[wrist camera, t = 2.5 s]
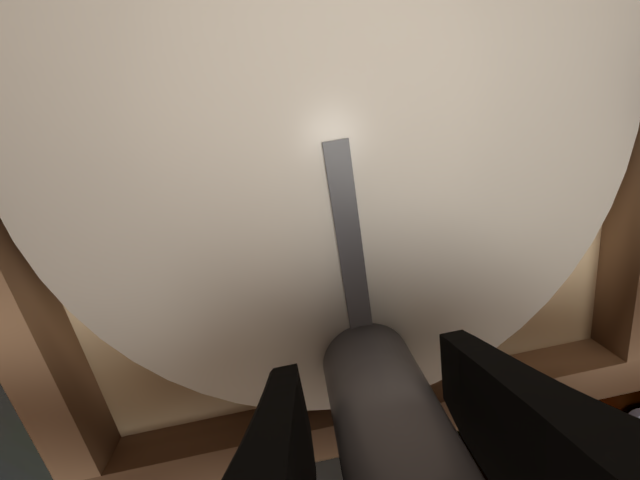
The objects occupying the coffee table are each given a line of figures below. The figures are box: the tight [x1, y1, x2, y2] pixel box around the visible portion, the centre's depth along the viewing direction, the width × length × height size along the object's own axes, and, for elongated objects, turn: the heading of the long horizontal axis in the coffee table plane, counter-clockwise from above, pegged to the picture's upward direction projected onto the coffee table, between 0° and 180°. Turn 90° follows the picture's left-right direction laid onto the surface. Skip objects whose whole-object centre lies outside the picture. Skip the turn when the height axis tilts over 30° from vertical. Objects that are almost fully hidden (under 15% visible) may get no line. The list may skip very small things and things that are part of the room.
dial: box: [0, 0, 640, 480], centre depth 6 cm, size 15×15×5 cm
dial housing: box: [0, 123, 640, 480], centre depth 9 cm, size 19×19×3 cm
